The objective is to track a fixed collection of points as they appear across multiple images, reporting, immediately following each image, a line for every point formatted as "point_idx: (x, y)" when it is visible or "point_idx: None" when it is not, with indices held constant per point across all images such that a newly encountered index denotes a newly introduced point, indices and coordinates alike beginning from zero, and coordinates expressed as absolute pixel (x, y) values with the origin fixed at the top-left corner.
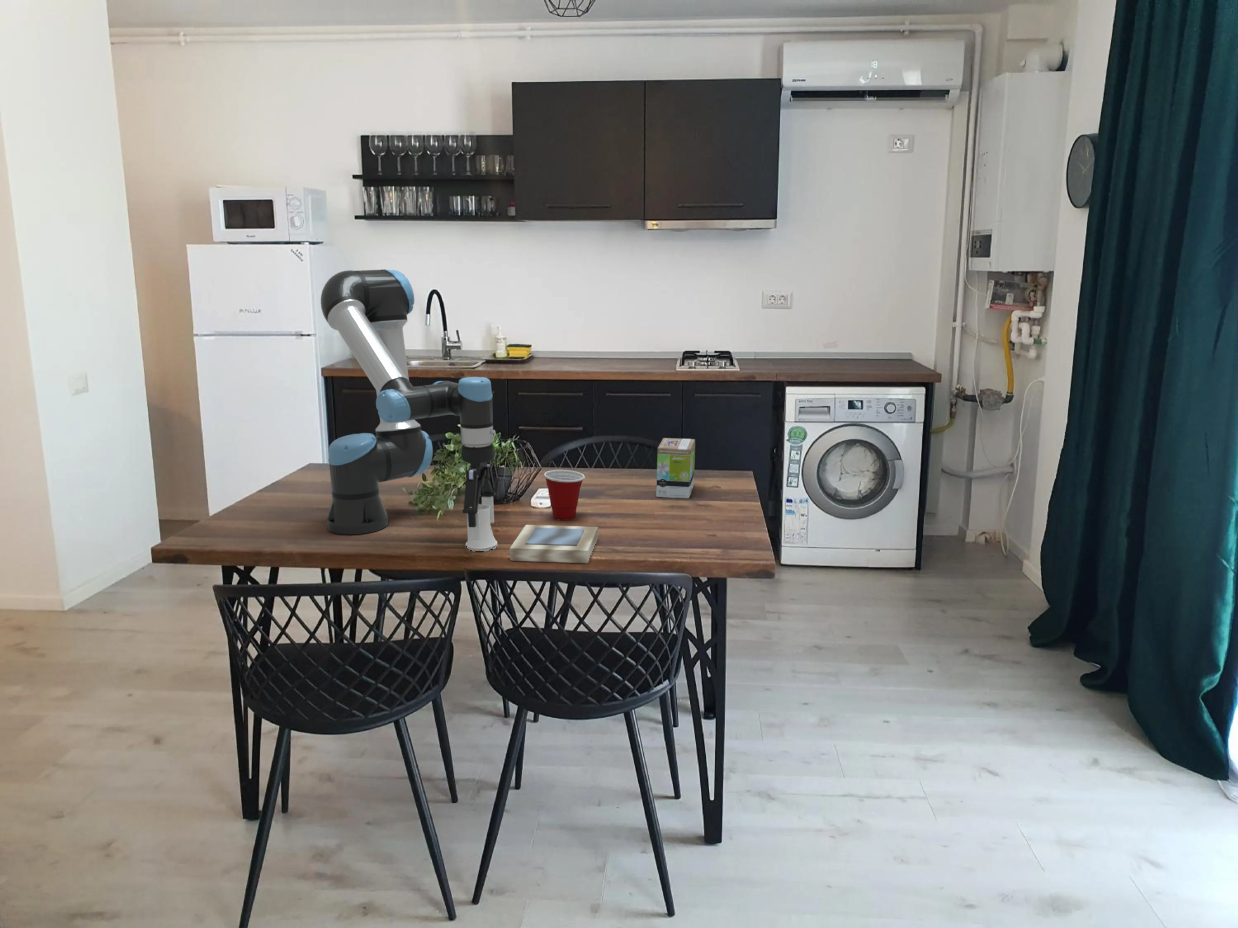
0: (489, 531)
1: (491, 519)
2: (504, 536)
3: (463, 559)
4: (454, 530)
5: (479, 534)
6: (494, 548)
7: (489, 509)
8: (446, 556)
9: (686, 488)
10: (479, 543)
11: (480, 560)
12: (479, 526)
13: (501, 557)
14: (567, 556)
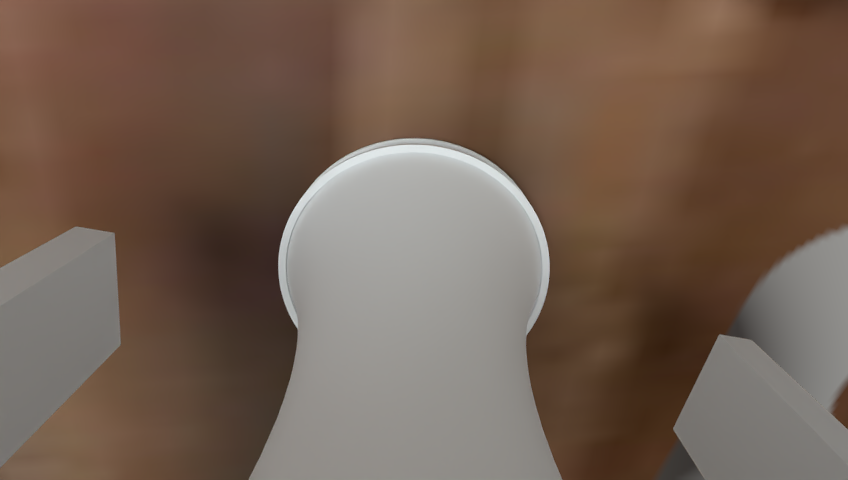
0: (477, 259)
1: (87, 272)
2: (119, 84)
3: (685, 363)
4: (33, 463)
5: (774, 372)
6: (487, 160)
7: (468, 459)
8: (593, 459)
9: None
10: (533, 302)
11: (746, 251)
12: (829, 442)
13: (727, 84)
14: None
